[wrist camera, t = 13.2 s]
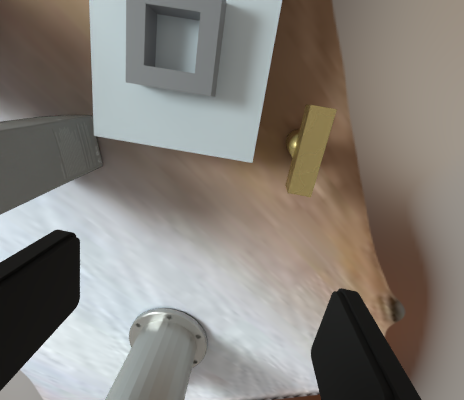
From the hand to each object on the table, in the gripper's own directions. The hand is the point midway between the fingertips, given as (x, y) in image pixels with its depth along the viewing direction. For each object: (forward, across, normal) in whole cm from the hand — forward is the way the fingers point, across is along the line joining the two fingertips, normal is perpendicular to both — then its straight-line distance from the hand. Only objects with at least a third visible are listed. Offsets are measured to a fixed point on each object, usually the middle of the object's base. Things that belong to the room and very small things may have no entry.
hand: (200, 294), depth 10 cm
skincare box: (+24, +21, +2) cm, 32 cm away
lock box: (+23, +7, -11) cm, 27 cm away
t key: (+24, -6, -4) cm, 25 cm away
